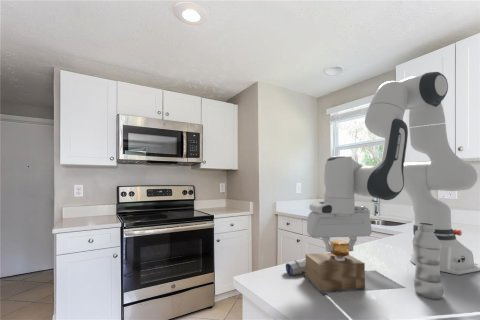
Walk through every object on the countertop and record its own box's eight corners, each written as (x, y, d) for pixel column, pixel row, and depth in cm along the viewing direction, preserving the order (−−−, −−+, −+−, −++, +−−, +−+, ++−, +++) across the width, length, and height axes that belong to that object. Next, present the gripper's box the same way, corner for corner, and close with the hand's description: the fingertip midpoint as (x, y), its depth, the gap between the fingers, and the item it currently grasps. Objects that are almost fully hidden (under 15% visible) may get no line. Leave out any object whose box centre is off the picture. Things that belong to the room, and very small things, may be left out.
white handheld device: (283, 260, 85) (343, 245, 93) (286, 279, 85) (345, 263, 93) (291, 266, 80) (353, 249, 88) (293, 286, 80) (356, 268, 88)
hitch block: (375, 272, 86) (374, 249, 86) (405, 289, 73) (404, 263, 73) (303, 276, 82) (303, 252, 82) (322, 295, 69) (322, 267, 69)
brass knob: (342, 270, 80) (342, 240, 80) (353, 277, 74) (352, 245, 75) (327, 271, 79) (327, 241, 79) (336, 278, 74) (336, 246, 74)
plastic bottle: (434, 305, 64) (432, 227, 65) (408, 293, 71) (406, 222, 72) (449, 300, 67) (446, 225, 68) (422, 289, 73) (420, 221, 74)
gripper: (362, 204, 83) (363, 247, 82) (304, 205, 79) (304, 249, 79) (376, 207, 76) (376, 253, 76) (313, 207, 73) (313, 255, 72)
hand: (339, 251), depth 77 cm, fingers closed on brass knob, 5 cm apart
